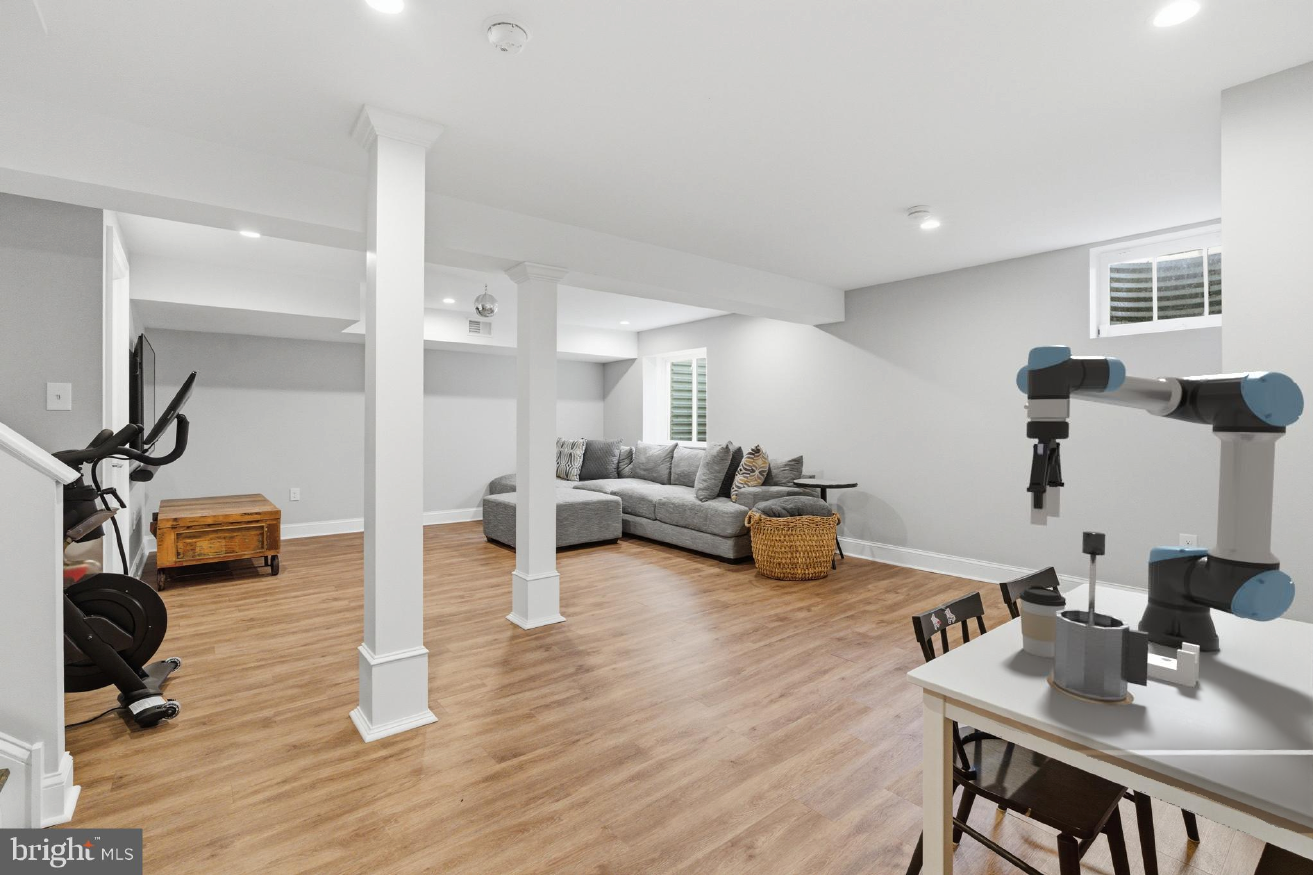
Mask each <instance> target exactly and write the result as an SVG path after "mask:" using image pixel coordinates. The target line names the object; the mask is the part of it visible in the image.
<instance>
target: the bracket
mask: <svg viewBox="0 0 1313 875" xmlns="http://www.w3.org/2000/svg"><path fill="white" fill-rule="evenodd" d="M1199 649H1200V646H1198V645H1194V644H1189V643H1185V642H1183V643H1182V649H1180V648H1177V650H1176V658H1172V657H1171V658H1170V657H1167V656H1163V655H1158V654H1154V653H1149V652H1148V665H1147V677H1152V678H1155V679H1159V680H1163V681H1167V682H1170V683H1173V684H1174V683H1175V684H1179V685H1181V686H1187V687H1190V688H1194V687H1196V685H1197V684H1196V683H1197V680H1198V678H1199V673H1200V671H1199V670H1200V651H1199Z"/></svg>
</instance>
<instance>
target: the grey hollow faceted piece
mask: <svg viewBox="0 0 1313 875" xmlns="http://www.w3.org/2000/svg"><path fill="white" fill-rule="evenodd" d="M1077 622H1081V623H1088V610H1084V609H1073V608H1071V609H1067V608H1065V609H1063V610H1059V611H1056V612H1055V642H1054V657H1053V675H1054V678H1053V682H1054V684H1055V685H1056V686H1057V687H1058V688H1060V689H1061V690H1063V691H1065V692H1067V693H1070V694H1072V695H1075V696H1078V697H1081V698H1085V699H1089V700H1093V701H1100V702H1121V701H1124V700H1126V698H1127V691H1128V688H1129V687H1128V686H1129V685H1128V684H1133V685H1138V686H1142V687H1147V686H1148V676H1147V665H1148V653H1149V640H1148V637H1149V634H1148V632H1143V631H1138V629H1137V630H1136V629H1131V626H1130V625H1129V623H1128V621H1127V620H1124V619H1122V618H1119V617H1118V616H1114V615H1110V614H1107V613H1102V612H1097V611H1095V615H1094V624H1095V625H1100V626H1103V627H1097V626H1090V625H1085V624H1081V623H1077Z"/></svg>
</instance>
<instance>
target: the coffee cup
mask: <svg viewBox="0 0 1313 875" xmlns="http://www.w3.org/2000/svg"><path fill="white" fill-rule="evenodd" d="M1019 599H1020V624H1021V625H1020V626H1021V628H1020V629H1021V635H1022V649H1023V651H1024V652H1026V653H1028V654H1030V655H1034V656H1037V657H1041V658H1042V657H1043V658H1054V642H1055V612H1056V611H1059V610H1063V609H1066V605H1067V602H1066V598H1065V596H1063V595H1062V594H1061V593H1060V592H1059V591H1057V590H1054V589H1051V588H1046V587H1044V586H1042V585H1031V586H1029V587H1026V588H1025V589H1024V591H1021V592H1020V593H1019Z"/></svg>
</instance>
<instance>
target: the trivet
mask: <svg viewBox="0 0 1313 875" xmlns="http://www.w3.org/2000/svg"><path fill="white" fill-rule="evenodd" d="M1053 678H1054V674H1050V675H1049V676H1047V678H1046V682H1047V684H1048V686H1050V687H1051V688H1053V689H1054V690H1056V691H1057V692H1059V693H1061V694H1063V695H1065V696H1068V697H1070V698H1074V699H1077V700H1080V701H1083V702H1087V703H1093V704H1098V705H1103V706H1104V705H1105V706H1127V705H1130V704H1132V703H1133V702H1134V699H1135V697H1134V695H1133V694H1132V693H1131V691H1129V690H1127V698H1126V700H1124V701H1121V702H1100V701H1093V700H1089V699H1085V698H1081V697H1078V696H1075V695H1072V694H1070V693H1067V692H1065V691H1063V690H1061V689H1060V688H1058V687H1057V686H1056V685H1055V684H1054V682H1053Z"/></svg>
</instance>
